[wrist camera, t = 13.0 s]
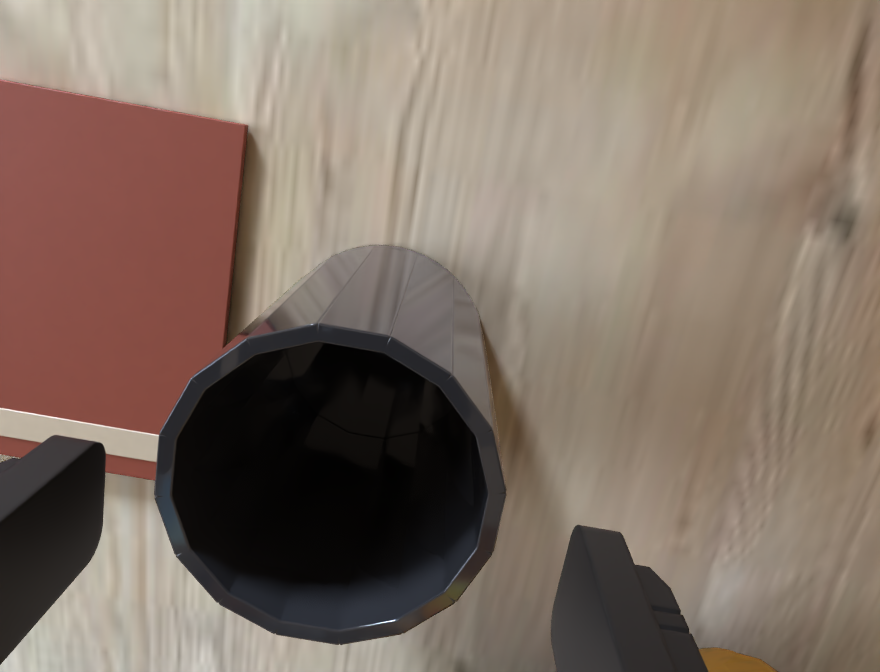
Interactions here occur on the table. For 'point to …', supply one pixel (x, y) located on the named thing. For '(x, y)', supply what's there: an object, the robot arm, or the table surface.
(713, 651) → the decorative pumpkin
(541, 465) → the table surface
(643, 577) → the robot arm
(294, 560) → the black cup
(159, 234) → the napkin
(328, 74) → the table surface
